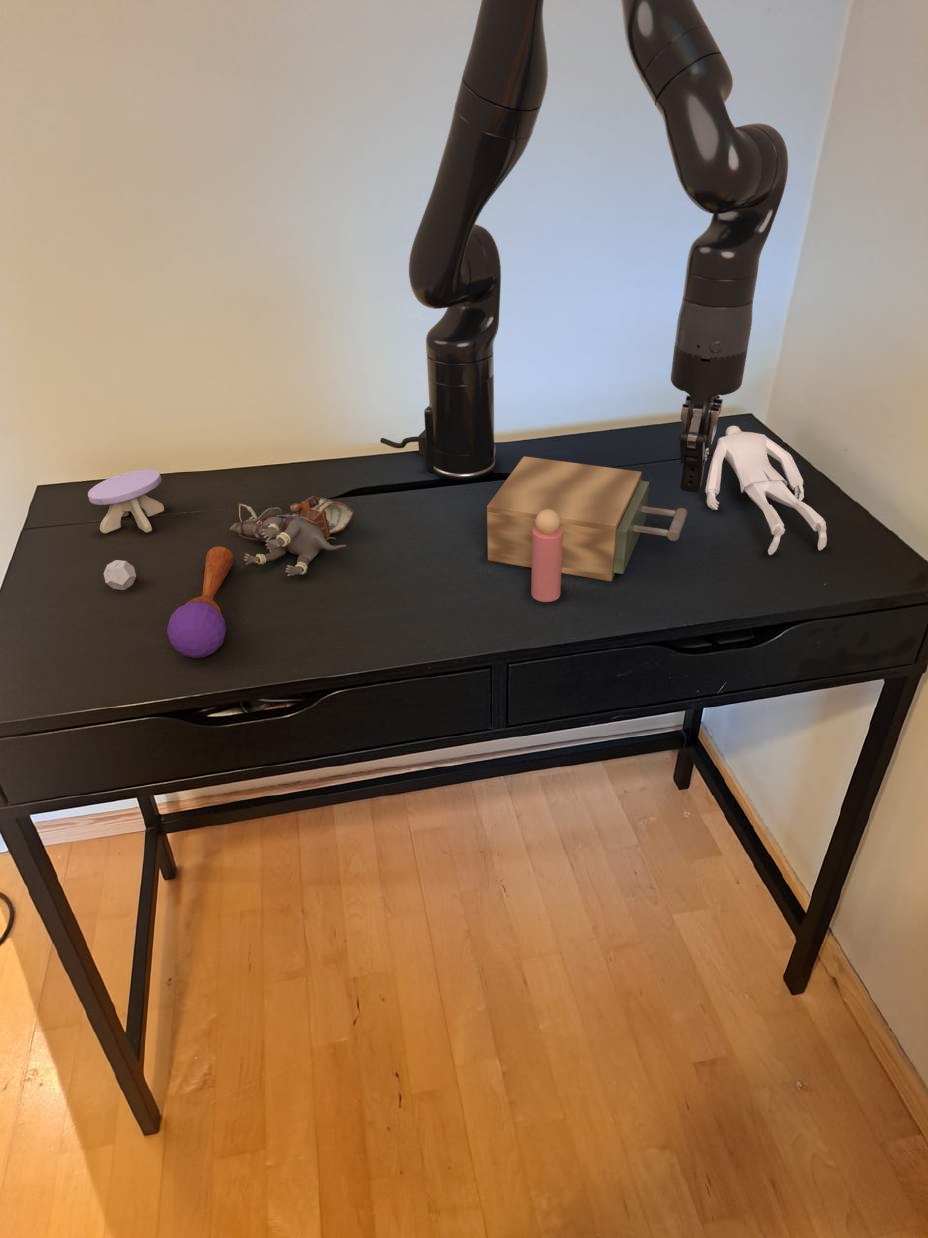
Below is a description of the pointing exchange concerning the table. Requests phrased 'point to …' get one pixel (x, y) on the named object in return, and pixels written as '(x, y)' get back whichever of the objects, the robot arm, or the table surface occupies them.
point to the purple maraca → (202, 611)
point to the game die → (119, 575)
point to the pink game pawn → (546, 556)
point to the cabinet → (561, 513)
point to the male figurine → (762, 479)
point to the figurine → (295, 530)
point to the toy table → (127, 498)
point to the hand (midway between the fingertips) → (690, 489)
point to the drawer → (642, 525)
